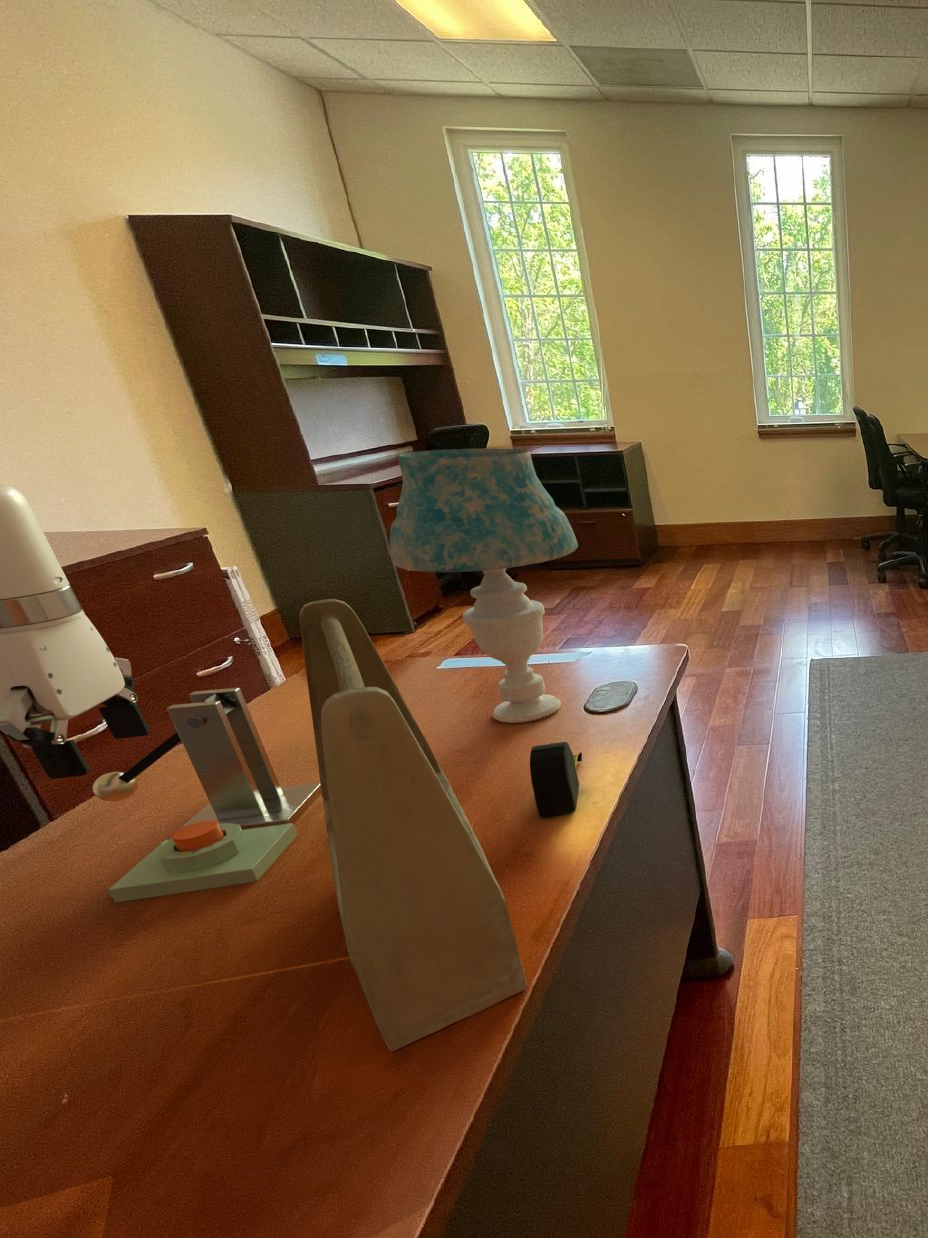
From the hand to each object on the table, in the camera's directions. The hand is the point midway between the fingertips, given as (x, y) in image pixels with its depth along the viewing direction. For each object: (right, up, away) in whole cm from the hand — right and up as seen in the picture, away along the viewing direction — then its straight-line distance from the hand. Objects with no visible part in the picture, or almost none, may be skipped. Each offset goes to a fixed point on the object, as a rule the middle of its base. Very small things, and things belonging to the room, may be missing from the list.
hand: (103, 754), depth 80 cm
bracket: (+10, -8, +7) cm, 15 cm away
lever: (+6, -1, +2) cm, 6 cm away
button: (+15, -9, -4) cm, 18 cm away
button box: (+15, -12, -2) cm, 19 cm away
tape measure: (+45, -6, +13) cm, 47 cm away
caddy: (+45, -16, -11) cm, 49 cm away
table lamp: (+28, +4, +35) cm, 45 cm away
